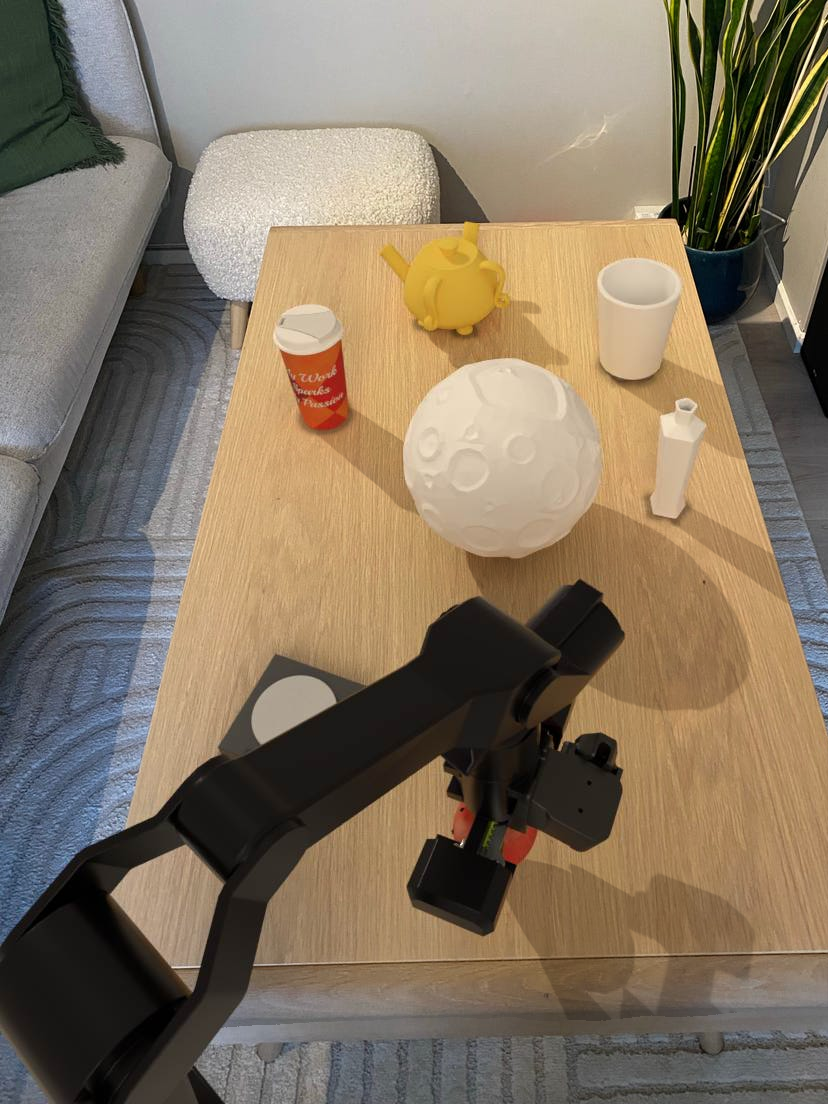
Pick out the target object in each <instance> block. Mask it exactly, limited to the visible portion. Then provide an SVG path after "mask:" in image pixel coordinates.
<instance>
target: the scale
mask: <svg viewBox="0 0 828 1104" xmlns="http://www.w3.org/2000/svg"><path fill="white" fill-rule="evenodd" d="M366 686H367V685H366V684H362V683H360V682H357V681H353V680H351V679H348V678H346V677H343V676H340V675H338V674H334V673H331V672H329V671H327V670H324V669H323V670H322V669H320V668H317V667H315V666H312V665H308V664H306V663H303V662H300V661H297V660H295V659H292V658H289V657H286V656H284V655H282V654H281V655H280V654H278V653H274V655H273V657H272V658H271V660H270V661H269V663H268V664H267V666H266V668H265V670H264V671H263V673H262V675H261V676H260V678H259V679H258V681H257V682H256V684H255V686H254V688H253V689H252V691H251V692H250V694H249V695H248V697H247V699H246V700H245V702H244V703H243V705H242V706H241V709H240V710H239V712H238V713H237V715H236V716H235V718H234V720H233V722H232V723H231V724H230V727H229V728H228V730H227V731H226V733H225V735H224V736H223V738H222V740H221V741H220V743H219V745H217V749H218V750H219V753H220V755H221V754H232V755H234V756H235V757H236V758H237V757H240V756H242V755H244V754H245V753H247V752H249V751H251V750H253V749H254V748H256V747H258V746H260V745H262V744H263V743H265V742H267V741H269V740H271V739H272V738H274V737H276V736H278V735H280V734H281V733H283V732H285V731H287V730H289V729H290V728H292V727H294V726H296V725H298V724H299V723H301V722H303V721H305V720H307V719H308V718H310V717H312V716H314V715H316V714H317V713H319V712H321V711H323V710H325V709H326V708H328V707H330V706H332V705H334V704H335V703H337V702H339V701H341V700H343V699H344V698H346V697H348V696H350V695H352V694H353V693H355V692H357V691H359V690H361V689H362V688H364V687H366Z"/></svg>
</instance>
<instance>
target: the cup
mask: <svg viewBox="0 0 828 1104" xmlns="http://www.w3.org/2000/svg"><path fill="white" fill-rule="evenodd" d="M596 279H597V280H596V282H597V283H596V285H597V286H596V287H597V289H596V290H597V315H598V317H597V318H598V341H599V343H598V344H599V361H600V362H599V363H600V366H601V367H602V368H603V369H604V371H606V372H607V373H608V374H610V375H611V376H612V377H613V378H614V379H615V380H616V381H617V382H621V383H622V382H627V381H635V380H636V381H637V380H640V381H648V380H650V379H651V378H652V377H653V376H654V375H655V374H656V373H657V372H658V370H660V368H661V365H662V362H663V359H664V354H665V352H666V347H667V344H668V341H669V338H670V334H671V330H672V326H673V323H674V319H675V316H676V312H677V309H678V305H679V302H680V298H681V295H682V291H683V289H684V288H683V287H684V286H683V285H684V284H683V280H682V278H681V276H680V273H678V272H677V270H675V268H673V267H672V266H670V265H668V264H666V263H664V262H661V261H658V260H656V259H651V258H647V257H646V258H645V257H629V258H622V259H619V260H616V261H613V262H611V263H609V264H608V265H605V266H604V267H603V268H602V269H600V271H599V273H598V275H597V278H596Z"/></svg>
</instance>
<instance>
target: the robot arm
mask: <svg viewBox="0 0 828 1104" xmlns="http://www.w3.org/2000/svg"><path fill="white" fill-rule="evenodd" d="M603 600H604V592H603V591H600V590H599V589H597V588H596V587H594V585H591V584H590V583H588V582H587V581H585V580H583V579H582V578H578V579H577V580H576V582H574V584H563V585H561V586H559V587H558V588H557V589H556V590H555V591H554V592H553V593H552V594H551V595H550V596H549V597H548V599H546V601H545V602H544V603H542V605H541V606H540V607H539V608H538V609H537V610H536V611H535V612H534V613H533V614H532V615H531V616H530V617H529V619H527V621H525V623H523V622H521V621H519V620H518V619H516V618H515V617H513V616H512V615H511V614H509V613H508V612H507V611H505V610H504V609H502V608H500V606H497V605H496V604H495V603H494V602H492V601H491V600H489V599H488V598H486V597H485V596H484V595H483V596H482V595H477V596H473V597H470V598H467V599H465V600H464V601H461V602H460V603H456V604H454V605H452V606H450V607H449V608H448V609H447V610H446V611H443V612H442V613H441V614H440V615H439V617H437V618H436V619H435V620H434V621H433V622H432V623H430V624H429V625H428V626H427V629H426V633H425V636H424V639H423V641H422V645H421V648H420V651H419V653H418V655H417V656H415V657H413V658H412V659H411V660H410V661H408V662H407V663H405V664H403V665H402V666H400V667H398V668H396V669H395V670H393V671H391V672H390V673H387V674H386V675H384V676H382V677H380V678H379V679H376V680H375V681H373V682H371V683H369V684H368V685H365V686H366V687H364V688H362V689H361V690H359V691H357V692H355V693H353V694H352V695H350V696H348V697H346V698H344V699H343V700H341V701H339V702H337V703H335V704H334V705H332V706H330V707H328V708H326V709H325V710H323V711H321V712H319V713H317V714H316V715H314V716H312V717H310V718H308V719H307V720H305V721H303V722H301V723H299V724H298V725H296V726H294V727H292V728H290V729H289V730H287V731H285V732H283V733H281V734H280V735H278V736H276V737H274V738H272V739H271V740H269V741H267V742H265V743H263V744H262V745H260V746H258V747H256V748H254V749H253V750H251V751H249V752H247V753H245V754H244V755H242V756H240V757H237V758H236V757H235V756H234V755H232V754H221V753H220V754H218V755H216V756H213V757H211V758H209V759H208V760H206V761H205V762H202V764H201V765H199V766H197V767H196V768H195V769H194V770H193V771H192V772H191V773H190V774H189V775H188V776H187V777H186V779H184V781H183V782H182V783H181V784H180V785H179V786H178V787H177V788H176V790H175V791H174V792H173V793H172V795H171V796H170V797H169V798H168V799H167V801H166V802H165V803H164V805H163V806H162V807H161V808H160V809H159V811H158V812H157V813H156V814H155V815H153V816H151V817H148V818H147V819H145V820H142V821H140V822H138V823H136V824H133V825H132V826H129V827H127V828H125V829H123V830H121V831H118V832H116V833H114V834H111V835H110V836H107V837H105V838H103V839H101V840H98V841H96V842H94V843H92V844H89V845H87V846H85V847H83V848H82V849H81V850H79V851H78V852H77V853H76V854H74V856H73V857H72V858H71V859H70V861H69V862H68V863H67V864H66V865H65V866H64V868H63V869H62V870H61V871H60V873H58V875H57V876H56V877H55V879H53V880H52V881H51V883H50V884H49V885H48V886H47V888H46V889H45V890H44V891H43V892H42V893H41V894H40V895H39V897H38V898H37V899H36V900H35V902H34V903H33V904H32V906H30V908H29V909H28V910H27V911H26V913H25V914H24V915H22V917H21V919H20V920H19V921H18V922H17V923H16V924H15V926H14V927H12V928H11V930H10V931H9V933H8V934H7V935H6V937H5V938H4V940H3V941H2V942H1V944H0V1033H1V1034H2V1036H3V1037H4V1039H5V1040H6V1042H7V1043H8V1044H9V1046H10V1047H11V1048H12V1050H13V1052H14V1053H15V1055H16V1056H17V1057H18V1059H19V1060H20V1062H21V1064H23V1065H24V1067H25V1069H26V1070H27V1072H28V1073H29V1075H30V1076H31V1078H32V1079H33V1080H34V1082H35V1083H36V1085H37V1086H38V1087H39V1089H40V1090H41V1092H42V1093H43V1095H44V1096H45V1097H46V1099H47V1101H48V1102H49V1103H50V1104H226V1103H225V1101H223V1099H222V1097H220V1095H219V1094H218V1092H216V1091H215V1089H214V1088H213V1087H212V1085H211V1084H210V1082H208V1080H207V1079H206V1078H205V1076H204V1075H203V1074H202V1073H201V1071H199V1069H198V1068H197V1067H196V1066H195V1064H196V1062H197V1061H198V1060H199V1058H201V1056H202V1055H203V1054H204V1052H205V1050H206V1049H207V1048H208V1046H209V1045H210V1044H211V1042H213V1040H214V1039H215V1037H216V1036H217V1035H218V1033H219V1032H220V1030H221V1029H222V1028H223V1026H225V1024H226V1022H227V1021H228V1020H229V1019H230V1017H231V1016H232V1015H233V1013H234V1012H235V1011H236V1009H237V1008H238V1006H240V1004H241V1003H242V1002H243V1000H244V998H245V996H246V994H247V992H248V989H249V986H250V982H251V977H252V972H253V968H254V964H255V959H256V956H257V951H258V947H259V942H260V938H261V934H262V930H263V925H264V921H265V917H266V913H267V909H268V905H269V903H270V901H271V899H272V898H273V897H274V896H275V894H276V893H277V892H278V890H279V889H280V888H281V886H283V884H284V883H285V881H286V880H287V879H288V878H289V876H290V875H291V874H292V872H293V871H294V870H295V868H296V867H297V866H298V864H299V863H300V861H301V860H302V859H303V857H304V855H305V853H306V851H307V850H308V849H310V848H311V847H313V846H314V845H316V844H318V842H320V841H321V840H323V839H324V838H325V837H327V836H328V835H330V834H331V833H332V832H334V831H335V830H337V829H338V828H339V827H341V826H343V825H344V824H345V823H347V822H348V821H349V820H351V819H353V818H354V817H355V816H356V815H358V814H359V813H361V812H362V811H364V810H365V809H367V808H368V807H370V806H371V805H372V804H374V803H375V802H376V801H378V800H379V799H381V798H383V797H384V796H385V795H387V794H388V793H389V792H390V791H392V790H393V789H395V788H396V787H397V786H399V785H401V784H402V783H403V782H404V781H406V780H407V779H409V778H410V777H412V776H413V775H414V774H416V773H418V772H419V771H420V770H422V769H423V768H425V767H426V766H427V765H429V764H430V763H431V762H433V761H435V760H436V759H438V758H439V757H441V758H442V759H443V760H444V762H443V764H442V768H443V773H446V774H449V775H452V777H451V779H450V781H449V784H448V786H447V788H446V791H445V792H446V797H447V798H448V799H452V800H454V801H456V802H459V803H461V802H462V803H464V804H465V806H466V808H467V809H468V810H469V811H470V812H472V813H473V814H474V815H476V816H475V818H474V821H473V823H472V826H471V829H470V831H469V834H468V836H467V839H466V840H465V839H463V840H462V842H461V843H460V842H458V841H455V839H452V838H450V837H447V836H445V835H442V834H440V833H436V835H435V838H426V839H425V842H424V844H423V846H422V849H421V850H420V853H419V855H418V858H417V861H416V863H415V865H414V867H413V870H412V872H411V874H410V877H409V879H408V882H407V884H406V891H407V895H408V898H409V901H410V904H411V907H412V908H414V909H415V910H416V909H417V910H419V911H420V912H423V913H426V914H428V915H429V916H430V915H431V916H433V917H435V918H437V919H440V920H442V921H444V922H446V923H450V924H452V925H454V926H456V927H460V928H461V929H464V930H466V931H469V932H470V933H473V934H475V935H478V936H480V937H482V938H483V937H485V936H486V937H487V936H488V935H490V934H493V933H495V931H496V928H497V924H498V922H499V919H500V916H501V913H502V911H503V908H504V904H505V902H506V899H507V897H508V894H509V890H510V886H511V884H512V881H513V878H514V875H515V872H516V870H517V866H518V865H516V864H513V863H511V862H508V861H506V860H505V859H504V856H503V855H502V854H501V853H500V849H501V846H502V843H503V841H504V838H505V835H506V833H507V830H508V827H509V828H510V829H513V830H515V831H518V832H521V833H523V834H526V833H527V830H528V827H529V826H530V827H533V828H535V829H538V831H540V832H542V833H543V834H545V835H547V836H549V837H551V838H553V839H554V840H556V841H559V842H561V843H562V844H565V845H566V846H568V847H569V848H570V849H571V850H573V851H575V852H578V853H586V852H588V851H589V850H591V849H593V848H595V847H596V846H598V845H600V844H602V843H603V842H605V841H607V840H608V839H609V838H610V836H611V833H612V831H613V826H614V823H615V821H616V817H617V813H618V810H619V807H620V804H621V800H622V797H623V791H624V790H623V785H622V781H621V780H622V777H623V773H624V769H623V768H622V767H620V766H618V765H617V761H616V760H617V758H618V753H619V752H618V750H619V749H618V742H617V740H616V739H614V738H613V737H611V736H609V735H607V734H605V733H604V732H602V731H600V732H590V733H589V732H588V733H582V734H580V735H579V736H578V737H576V738H575V740H574V741H573V742H571V741H570V740H565V741H563V742H562V740H563V737H564V735H565V732H566V730H567V727H568V725H569V722H570V719H571V716H572V714H573V710H574V707H575V705H576V699H577V697H578V696H579V695H580V694H581V692H582V691H583V690H584V689H585V688H586V687H587V685H588V684H589V683H590V682H591V680H592V679H593V678H594V677H595V676H596V675H597V673H599V672H600V670H601V669H602V668H603V666H604V665H606V663H608V661H609V660H610V658H611V657H612V656H613V655H614V654H615V653H616V651H617V650H618V649H619V648H620V647H621V646H622V645H623V643H624V641H625V638H626V633H625V631H624V630H623V629H622V626H621V625H620V622H619V621H618V618H617V617H616V615H614V614H615V613H613V611H612V610H611V609H610V608H609V607H608V606H607V605H606V604H605V603H604V602H603ZM561 742H562V745H561ZM560 745H561V749H560ZM559 749H560V750H559ZM492 822H495V823H496V824H493V828H494V829H495V830H491V833H492V834H493V835H489V839H490V840H491V841H487V844H488V845H489V846H485V847H483V844H484V842H485V839H486V836H487V834H488V831H489V829H490V826H491V823H492ZM497 824H498V825H497ZM184 846H187V847H188V849H189V850H191V852H192V853H193V854H194V855H195V856H196V857H197V858H198V859H199V860H200V861H201V862H202V864H204V866H206V868H207V869H208V870H209V871H210V872H211V873H212V875H214V876H215V878H217V880H219V881H220V883H221V884H222V885H223V886H222V887H221V890H220V892H219V894H218V896H217V900H216V903H215V908H214V912H213V915H212V919H211V923H210V926H209V931H208V936H207V939H206V943H205V947H204V950H203V955H202V958H201V961H200V966H199V970H198V973H197V978H196V982H195V985H194V988H193V989H192V990H191V988H190V987H189V986H188V985H187V984H186V983H185V981H184V980H183V979H182V977H180V975H179V974H178V973H177V971H175V969H173V967H172V966H171V965H170V963H169V962H168V961H167V960H166V958H164V956H163V955H162V954H161V953H160V952H159V951H158V950H157V948H156V947H155V946H154V944H152V942H151V941H150V940H149V938H148V937H147V936H146V935H145V934H144V933H143V932H142V930H141V929H140V928H139V926H137V924H136V923H135V922H134V920H132V919H131V917H130V916H129V914H128V913H126V911H125V910H124V909H123V907H122V906H121V905H120V904H119V903H118V902H117V900H116V899H115V898H114V897H113V896H112V893H113V892H114V890H115V889H116V888H117V887H118V886H119V885H120V883H121V882H122V881H123V879H125V877H126V876H127V875H128V874H129V872H130V871H131V870H133V869H136V868H137V867H139V866H141V865H144V864H146V863H148V862H150V861H152V860H155V859H157V858H159V857H162V856H163V855H166V854H168V853H170V852H172V851H174V850H177V849H179V848H181V847H184Z"/></svg>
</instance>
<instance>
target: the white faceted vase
mask: <svg viewBox="0 0 828 1104" xmlns="http://www.w3.org/2000/svg"><path fill="white" fill-rule="evenodd" d="M674 403H675V408H674V411H673V412H669V413H665V414H662V415H660V417H659V431H658V444H657V457H656V474H655V483H654V485H655V486H654V491H653V492H652V494H651V495H650V497H649V500H650V505H651V511H652V513H653V515H655V516H660V517H664V518H670V519H677V518H678V517H679V515H680V514H681V513H682V511H683V510H684V509H685V507H686V505H687V504H686V499H685V494H686V491H687V488H688V485H689V482H690V478H691V476H692V472H693V469H694V466H695V463H696V460H697V458H698V457H697V456H698V453H699V451H700V447H701V444H702V441H703V438H704V435H705V432H706V428H707V425H708V424H707V423H706V422H704V421H703V420H702V419H700V418H699V417H698V416H697V415H695V414H696V409H697V408H698V407H699V406H698V403H696V402H695V401H693V399H691V398H690V397H684V398H680V399H677V400H675V402H674Z"/></svg>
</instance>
